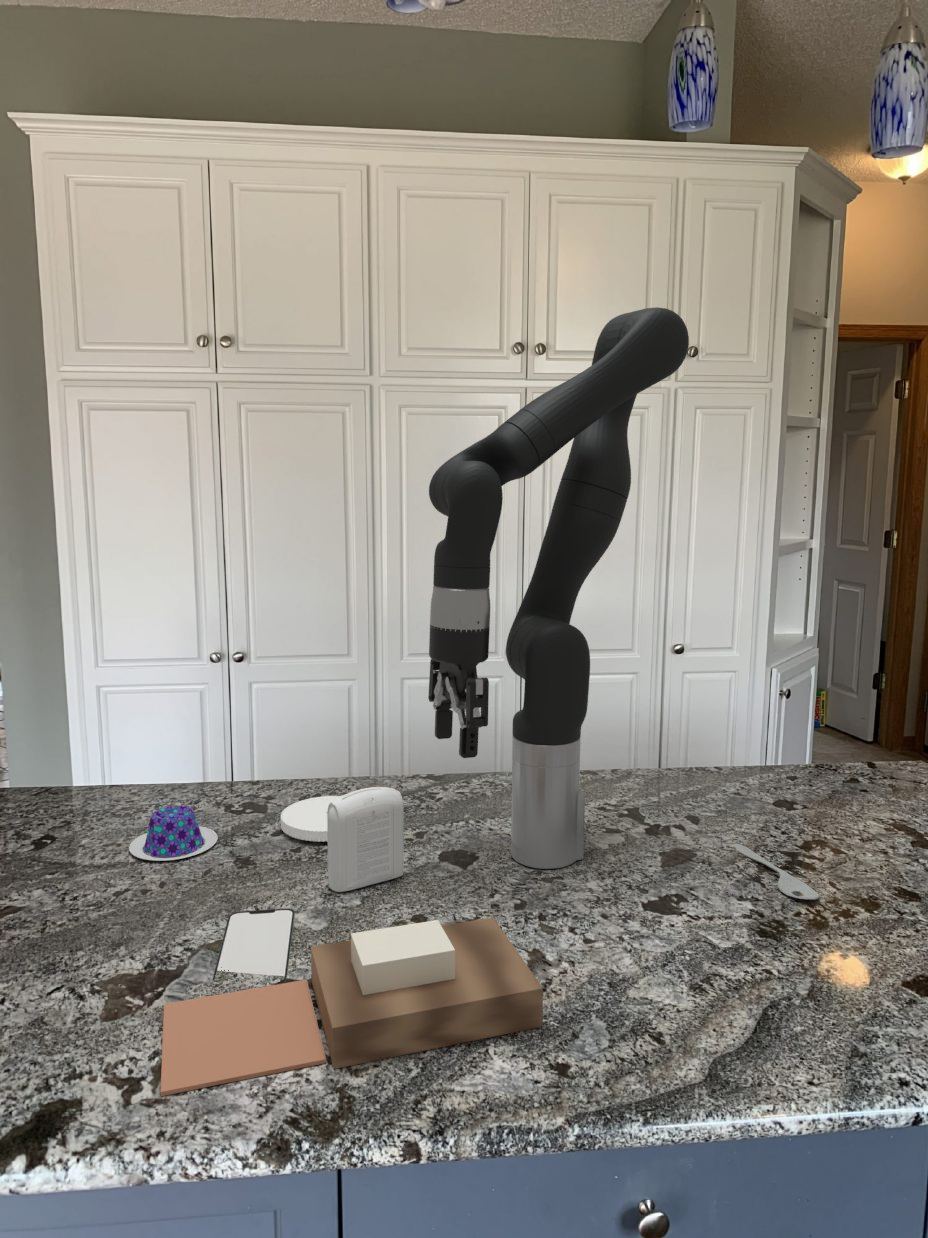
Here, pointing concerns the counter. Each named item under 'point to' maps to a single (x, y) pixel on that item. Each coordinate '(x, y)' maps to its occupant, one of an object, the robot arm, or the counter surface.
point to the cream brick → (402, 957)
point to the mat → (238, 1036)
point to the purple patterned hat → (173, 835)
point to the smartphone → (257, 943)
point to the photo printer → (365, 838)
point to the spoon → (782, 877)
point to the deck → (427, 999)
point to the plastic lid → (307, 819)
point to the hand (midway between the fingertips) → (455, 747)
